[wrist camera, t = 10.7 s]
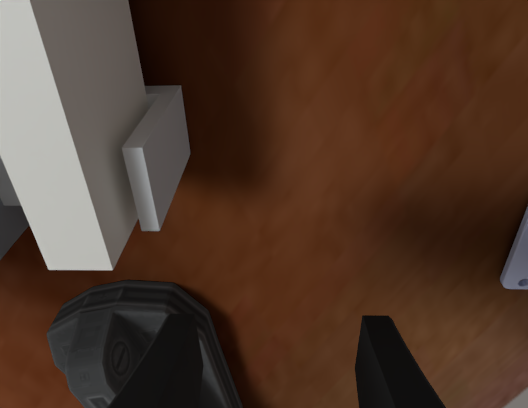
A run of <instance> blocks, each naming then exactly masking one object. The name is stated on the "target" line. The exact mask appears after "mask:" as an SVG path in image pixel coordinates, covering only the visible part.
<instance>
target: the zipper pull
mask: <svg viewBox="0 0 528 408" xmlns="http://www.w3.org/2000/svg"><path fill="white" fill-rule="evenodd" d="M169 314H195V320H196V326H197V331H198V337H199V342H200V348H201V354H202V359H203V365H204V366H203V374H202V383H201V391H200V399H199V406H198V408H243V406H242V403H241V400H240V398H239V395H238V392H237V389H236V387H235V384H234V381H233V379H232V376H231V373H230V370H229V368H228V365H227V362H226V359H225V357H224V354H223V351H222V349H221V346H220V343H219V340H218V337H217V334H216V331H215V328H214V325H213V322H212V319H211V316H210V313H209V311H208V309H206V308H205V307H204V306H202V305H201V304H200V303H199V302H197V301H196V300H195V299H194V298H192V297H191V296H190V295H189V294H187V293H186V292H185V291H184V290H182V289H181V288H180V287H179V286H177V285H176V284H175V283H172V282H156V281H139V280H124V281H119V282H114V283H109V284H104V285H99V286H94V287H92V288H90V289H88V290H87V291H85V292H83V293H81V294H80V295H78V296H76V297H75V298H73V299H71V300H69V301H68V302H66V303H64V304H63V306H62V307H61V309H60V311H59V313H58V314H57V316H56V318H55V320H54V321H53V323H52V325H51V327H50V328H49V330H48V332H47V339H48V342H49V346H50V349H51V353H52V357H53V360H54V364H55V365H56V367H57V368H59V369H60V370H61V371H62V372H63V373H64V374H65V375H66V378H67V382H68V387H69V389H70V391H71V392H72V393H73V395H74V396H75V397H76V398H77V399H78V400H79V402H80V403H81V404H82V405H83V406H84V407H85V408H107V407H108V406H109V404H110V403H111V402H112V400H113V399H114V397H115V396H116V395H117V393H118V392H119V390H120V389H121V387H122V386H123V385H124V383H125V382H126V380H127V379H128V377H129V376H130V374H131V373H132V371H133V370H134V368H135V367H136V366H137V364H138V362H139V361H140V359H141V358H142V356H143V355H144V353H145V352H146V350H147V348H148V347H149V345H150V344H151V342H152V340H153V339H154V337H155V335H156V334H157V332H158V330H159V329H160V327H161V325H162V324H163V322H164V320H165V318H166V317H167V316H168V315H169Z"/></svg>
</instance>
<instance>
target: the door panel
mask: <svg viewBox="0 0 528 408" xmlns="http://www.w3.org/2000/svg"><path fill="white" fill-rule="evenodd" d="M148 110H149V107H148V102H147V97H146V91H145V86H144V81H143V76H142V70H141V65H140V60H139V55H138V49H137V44H136V39H135V34H134V28H133V23H132V18H131V13H130V7H129V2H128V0H0V156H1V159H2V161H3V163H4V166H5V168H6V170H7V173H8V175H9V178H10V180H11V182H12V185H13V187H14V189H15V192H16V194H17V196H18V199H19V201H20V204H21V206H22V208H23V211H24V213H25V215H26V218H27V220H28V222H29V225H30V227H31V230H32V232H33V234H34V237H35V239H36V241H37V244H38V246H39V248H40V251H41V253H42V256H43V258H44V260H45V263H46V265H47V267H48V270H113V269H114V267H115V265H116V263H117V261H118V259H119V257H120V255H121V253H122V251H123V249H124V247H125V245H126V243H127V240H128V238H129V236H130V234H131V232H132V230H133V228H134V226H135V224H136V222H137V220H138V214H137V210H136V205H135V201H134V197H133V193H132V189H131V185H130V181H129V176H128V172H127V168H126V164H125V160H124V156H123V152H122V147H123V145H124V144H125V143H126V141H127V140H128V138H129V137H130V136H131V134H132V133H133V131H134V130H135V128H136V127H137V126H138V124H139V123H140V121H141V120H142V119H143V117H144V116H145V114H146V113H147V112H148Z"/></svg>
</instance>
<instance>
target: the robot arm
mask: <svg viewBox="0 0 528 408" xmlns="http://www.w3.org/2000/svg"><path fill="white" fill-rule="evenodd" d="M522 279H523V280H522ZM520 280H521V281H520ZM500 282H501V283H502V285H503V287H505V288H506V289H528V206H527V209H526V212H525V214H524V217H523V219H522V222H521V225H520V227H519V230H518V232H517V235H516V238H515V240H514V243H513V245H512V248H511V251H510V253H509V256H508V258H507V261H506V264H505V266H504V269H503V271H502V274H501V277H500ZM203 366H204V365H203V359H202V354H201V348H200V342H199V337H198V331H197V326H196V320H195V314H169V315H168V316H167V317H166V318H165V320H164V322H163V324H162V325H161V327H160V329H159V330H158V332H157V334H156V335H155V337H154V339H153V340H152V342H151V344H150V345H149V347H148V348H147V350H146V352H145V353H144V355H143V356H142V358H141V359H140V361H139V362H138V364H137V366H136V367H135V368H134V370H133V371H132V373H131V374H130V376H129V377H128V379H127V380H126V382H125V383H124V385H123V386H122V387H121V389H120V390H119V392H118V393H117V395H116V396H115V397H114V399H113V400H112V402H111V403H110V404H109V406H108V407H107V408H198V406H199V399H200V391H201V383H202V374H203ZM355 373H356V382H357V392H358V400H359V408H446V407H445V406H444V404H443V403H442V401H441V400H440V398H439V397H438V395H437V394H436V392H435V391H434V389H433V388H432V386H431V385H430V383H429V382H428V380H427V379H426V377H425V376H424V374H423V372H422V371H421V369H420V368H419V366H418V364H417V363H416V361H415V359H414V358H413V356H412V354H411V353H410V351H409V349H408V348H407V346H406V344H405V342H404V341H403V339H402V337H401V335H400V333H399V332H398V330H397V328H396V326H395V324H394V322H393V320H392V319H391V318H390V317H389V316H362V323H361V330H360V337H359V343H358V350H357V357H356V364H355Z"/></svg>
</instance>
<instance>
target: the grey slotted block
mask: <svg viewBox="0 0 528 408" xmlns="http://www.w3.org/2000/svg"><path fill="white" fill-rule="evenodd" d="M145 91H146V97H147V102H148V107H149V110H148V112H147V113H146V114H145V116H144V117H143V119H142V120H141V121H140V123H139V124H138V126H137V127H136V128H135V130H134V131H133V133H132V134H131V136H130V137H129V138H128V140H127V141H126V143H125V144H124V145H123V147H122V152H123V156H124V160H125V164H126V168H127V172H128V176H129V181H130V185H131V189H132V193H133V197H134V201H135V205H136V210H137V214H138V218H139V222H140V226H141V230H142V231H160V229H161V227H162V224H163V222H164V219H165V217H166V214H167V212H168V209H169V207H170V204H171V201H172V199H173V196H174V194H175V191H176V189H177V186H178V184H179V181H180V179H181V176H182V174H183V171H184V169H185V166H186V164H187V161H188V159H189V156H190V154H191V153H190V145H189V138H188V131H187V124H186V117H185V110H184V103H183V96H182V89H181V85H171V86H145ZM28 226H29V222H28V220H27V218H26V215H25V213H24V211H23V208H22V206H21V204H20V201H19V199H18V196H17V194H16V192H15V189H14V187H13V185H12V182H11V180H10V178H9V175H8V173H7V170H6V168H5V166H4V163H3V161H2V159H1V156H0V260H1V259H2V257H3V256H4V255H5V254H6V253H7V251H8V250H9V249H10V248H11V247H12V245H13V244H14V243H15V242H16V241H17V239H18V238H19V237H20V236H21V235H22V233H23V232H24V231H25V230H26V229H27V227H28Z"/></svg>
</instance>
